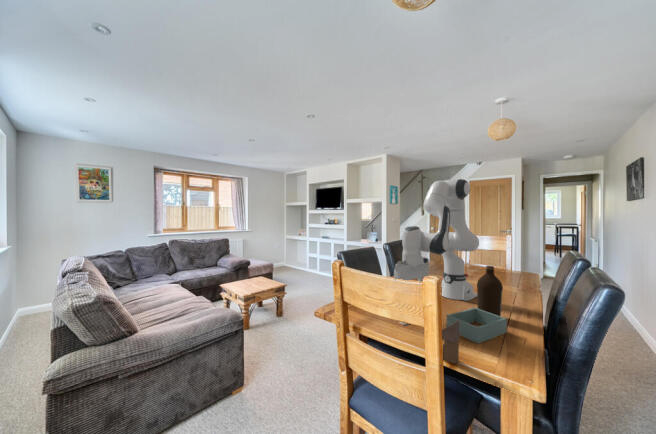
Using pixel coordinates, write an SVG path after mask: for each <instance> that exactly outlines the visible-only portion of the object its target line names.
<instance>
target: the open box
mask: <svg viewBox="0 0 656 434" xmlns="http://www.w3.org/2000/svg"><path fill="white" fill-rule="evenodd" d="M458 320H459V336H461V337H464V338H465V339H468V340H470V341H472V342H474V343H476V344H481V343H483V342H486V341H490V340H491V339H494V338H497V337H499V336H502V335H504V334H506V333H507V332H508V331H507V329H508V325H507V324H508V318H506V317H503V316H498V315H495V314H492V313H489V312H486V311H483V310H480V309H478V307H472V308H467V309H464V310H461V311H457V312H454V313H449V314H447V315H446V327H448V326H450V325H451V324H453V323H455V322H456V321H458ZM474 322H476V323H478V324H481V325H479V326H477V325H474V324H471V323H474Z"/></svg>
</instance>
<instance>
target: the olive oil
mask: <svg viewBox="0 0 656 434" xmlns="http://www.w3.org/2000/svg"><path fill="white" fill-rule="evenodd" d="M503 289H504V287H503V284H502V281H501V280H500V279H499V278H498V276H496V275H495V266H494V265H486V268H485V274H483V275H482V276H481V277H480V278H479V279H478V280H477V283H476V291H477V292H476V294H477V297H476V298H477V308H478V309H480V310H483V311H486V312H489V313H492V314H495V315H498V316H501V313H502V303H503V301H502V300H503ZM501 317H502V316H501Z"/></svg>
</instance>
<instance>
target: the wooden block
mask: <svg viewBox="0 0 656 434" xmlns="http://www.w3.org/2000/svg"><path fill="white" fill-rule="evenodd" d="M441 331H442V338H441V339H442V340H444V342H443V343H442V344H443V359H442V360H445V361H447V362H449V363H450V364H454V365H455V364H456V363H458V361H459V355H460V354H459V353H460V349H459V348H460V347H459V346H460V345H459V344H460V341H459V340H460V335H459V320H458V321H456V322H455V323H453V324H451V325H450V326H448V327H447V326H446V327H445V328H443V329H442V330H441Z"/></svg>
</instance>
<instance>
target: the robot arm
mask: <svg viewBox="0 0 656 434" xmlns="http://www.w3.org/2000/svg"><path fill="white" fill-rule="evenodd" d="M469 194H470V184H469V182H468V181H467V180H466V179H462V178H460V179H445V180H436V181H433V182H431V183H430V184H429V185H428V187H427V193H426V195H425V198H424V200H423V208H424V209H425V211H426V212H427V213H428V214H430V215H432V216H433V217H435V218H438V227H437V231H436V232H433V233H432V232H424V231H421V228H420V227H419V226H415V225H413V226H407V227H405V228H404V229H403V230H402V231H403V233H402V243H401V244H402V255H401V256H402V257H401V259H402V260H401V261H397V263H396V264H395V266H394V271H393V279H394V278H395V279H403V280H407V281H412V280H415V279H416V280H417V281H420V282H421V281H422V282H423V280H424V278H425V276H427V277H428V276H429V274H430V266H429V265H430V264H429V263H430V259H429V258H428V257H424V256H422V252H424V253H431V254H434V255H438V256H439V255H440V256H442V258H443V259H442V260H443V272H442V277H443V278H442V279H441V286H440V287H442V295H441V296H442V297H444V298H447V299H451V300H459V301H465V302H469V301H471V300H473V299H475V298H477V292H476V293H475V292H474V286H473V285H472V283H470V282H469V281H468V280H467V278H469V276H470V275H469V274H468V273H465V261H464V260H463V258H462V257H461V256H458V255H457V254H456V253H455V251H457V252H475V251H476V250H477V249H478V248H479V246H480V239H479V238H478V237H477V235H476V234H474V232H472V231H471V229H469V227H468V225H467V222H466V221H467V220H466V210H465V209H466V204H465V198H467V196H469ZM450 227H451V228H452V229H453V230H454V231H451V232H450ZM395 279H394V280H395ZM422 279H423V280H422ZM422 282H421V283H422Z"/></svg>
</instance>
